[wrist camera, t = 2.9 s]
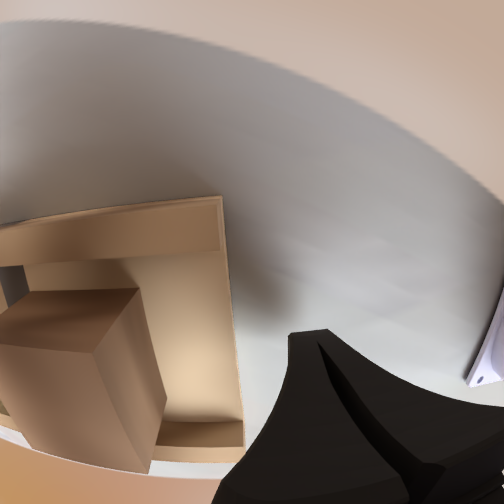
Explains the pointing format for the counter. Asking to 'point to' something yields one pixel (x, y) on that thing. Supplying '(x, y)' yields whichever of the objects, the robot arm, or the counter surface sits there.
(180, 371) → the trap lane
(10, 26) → the counter surface
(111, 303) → the walnut block
